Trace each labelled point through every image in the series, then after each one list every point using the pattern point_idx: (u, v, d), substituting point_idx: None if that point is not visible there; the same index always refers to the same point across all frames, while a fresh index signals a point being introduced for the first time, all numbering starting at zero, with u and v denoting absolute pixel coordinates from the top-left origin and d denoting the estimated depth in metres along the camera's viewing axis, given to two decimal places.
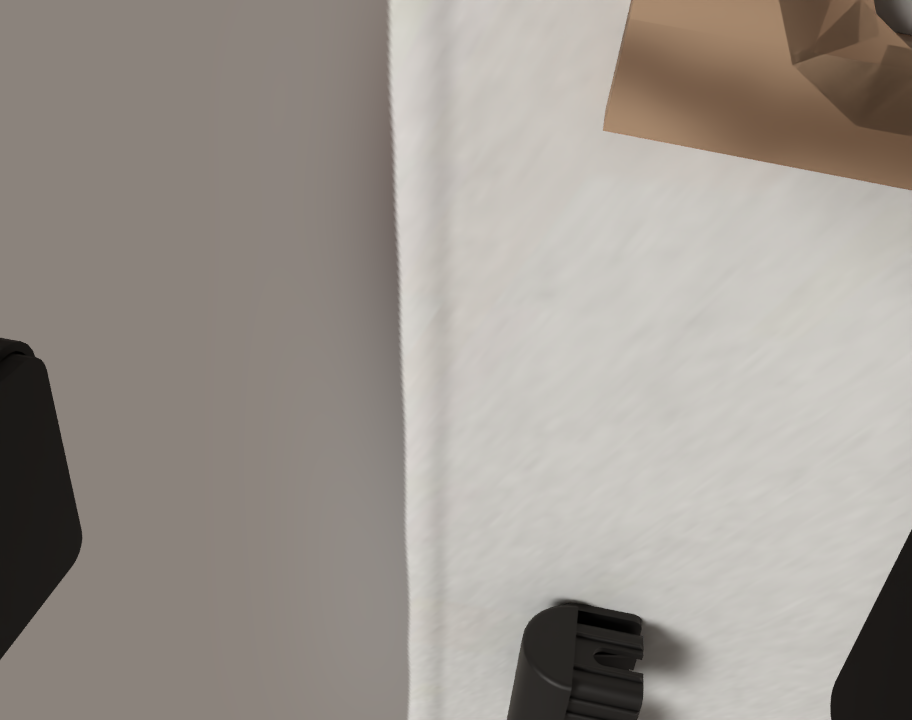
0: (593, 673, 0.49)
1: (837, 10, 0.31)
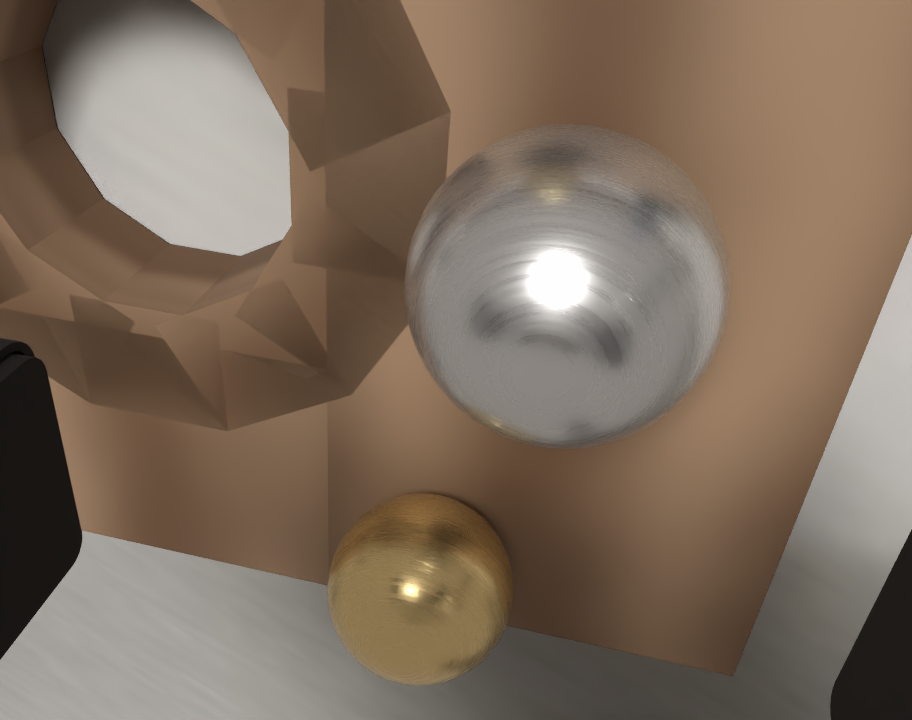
0: None
1: None
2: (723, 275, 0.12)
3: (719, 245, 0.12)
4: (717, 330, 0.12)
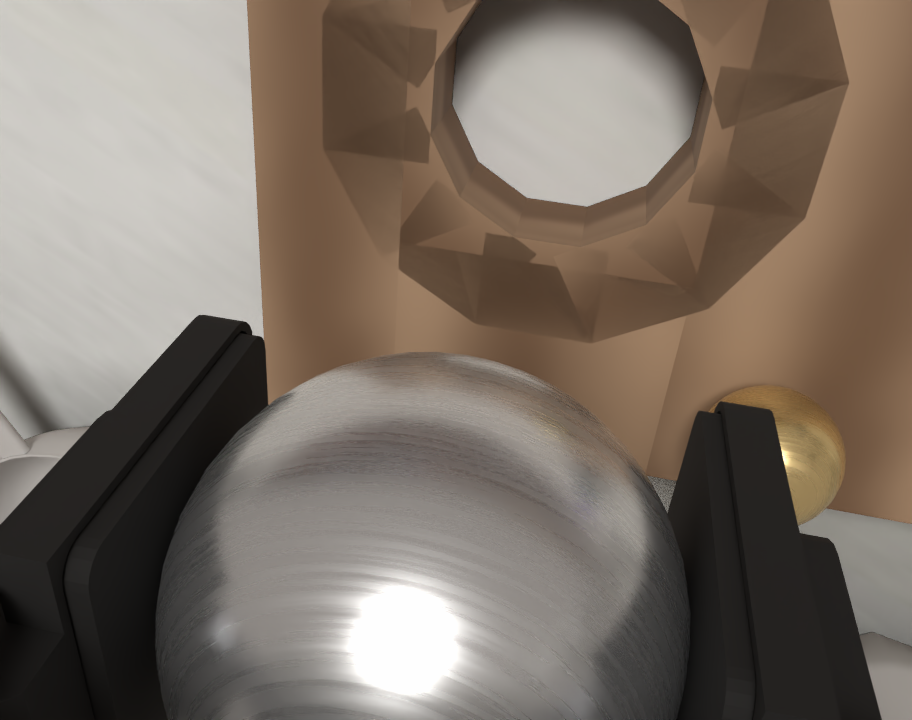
0: None
1: None
2: (677, 639, 0.07)
3: (670, 587, 0.07)
4: None
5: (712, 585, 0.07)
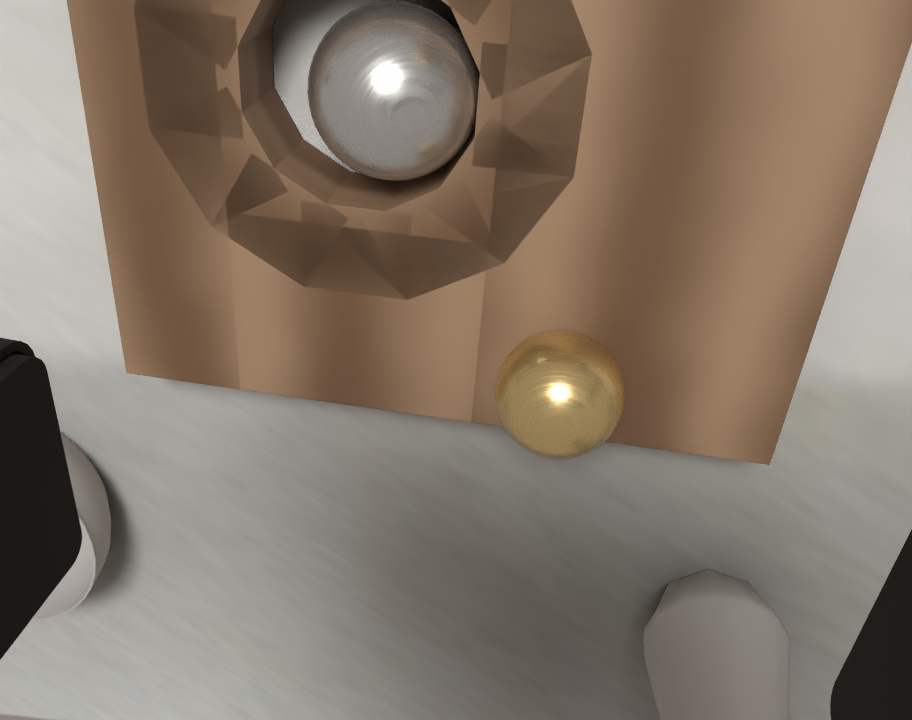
0: None
1: None
2: (475, 65, 0.25)
3: (469, 51, 0.25)
4: None
5: None
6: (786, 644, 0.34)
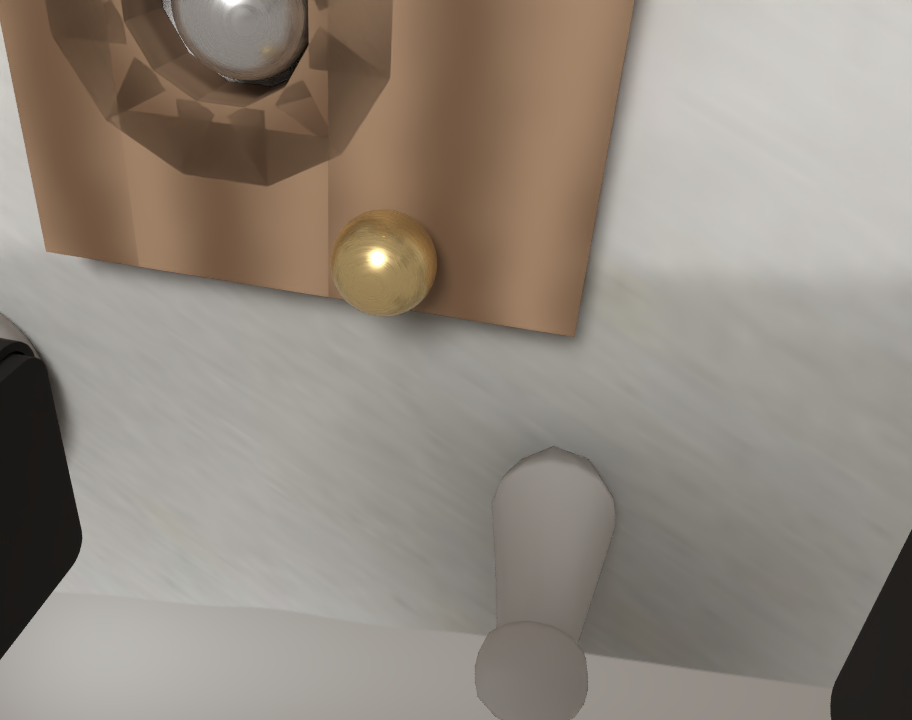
0: None
1: None
2: None
3: None
4: None
5: None
6: (608, 506, 0.39)
